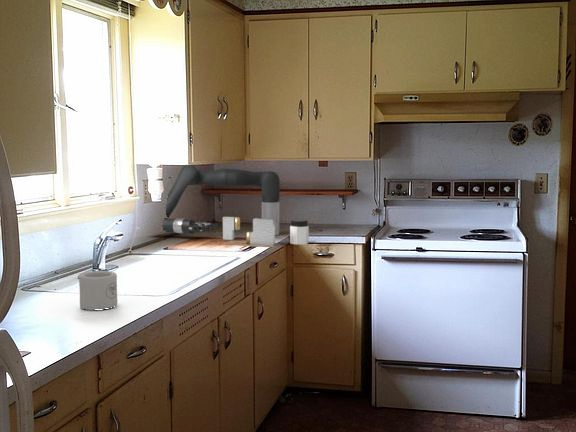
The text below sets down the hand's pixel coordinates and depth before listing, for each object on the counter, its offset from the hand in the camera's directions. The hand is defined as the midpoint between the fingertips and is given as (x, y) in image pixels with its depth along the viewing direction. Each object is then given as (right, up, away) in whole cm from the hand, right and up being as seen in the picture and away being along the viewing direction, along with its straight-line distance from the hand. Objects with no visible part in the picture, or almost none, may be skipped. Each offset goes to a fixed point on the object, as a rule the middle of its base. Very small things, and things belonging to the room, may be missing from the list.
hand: (213, 227), depth 339 cm
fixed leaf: (+24, -8, -19) cm, 32 cm away
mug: (-19, -22, -133) cm, 136 cm away
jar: (+42, -9, -14) cm, 45 cm away
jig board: (+19, -9, -18) cm, 28 cm away
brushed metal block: (+9, -7, -3) cm, 12 cm away
